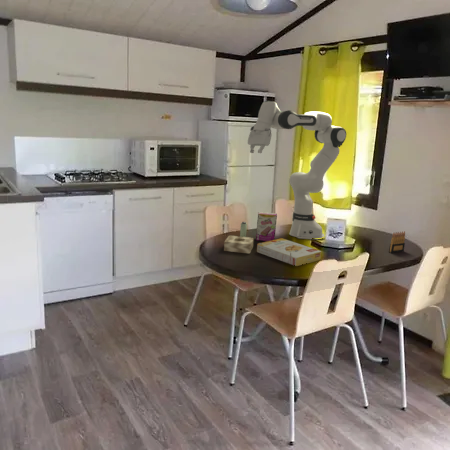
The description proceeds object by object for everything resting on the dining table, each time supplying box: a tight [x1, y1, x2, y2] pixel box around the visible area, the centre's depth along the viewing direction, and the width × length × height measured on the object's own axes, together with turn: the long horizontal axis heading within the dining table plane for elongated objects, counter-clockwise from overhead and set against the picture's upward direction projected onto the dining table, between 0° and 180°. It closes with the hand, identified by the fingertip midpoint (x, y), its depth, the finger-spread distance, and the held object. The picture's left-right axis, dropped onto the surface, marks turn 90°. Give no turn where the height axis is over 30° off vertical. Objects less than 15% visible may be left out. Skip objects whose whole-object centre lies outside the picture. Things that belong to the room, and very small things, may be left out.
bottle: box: [239, 221, 248, 237], centre depth 254 cm, size 4×4×12 cm
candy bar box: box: [255, 211, 278, 242], centre depth 261 cm, size 11×5×16 cm, turn 84°
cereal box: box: [256, 237, 322, 267], centre depth 235 cm, size 20×6×28 cm
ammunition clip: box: [388, 231, 406, 254], centre depth 255 cm, size 11×2×12 cm, turn 120°
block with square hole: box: [223, 235, 255, 254], centre depth 243 cm, size 14×14×5 cm
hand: (255, 152), depth 251 cm, fingers open, 8 cm apart
